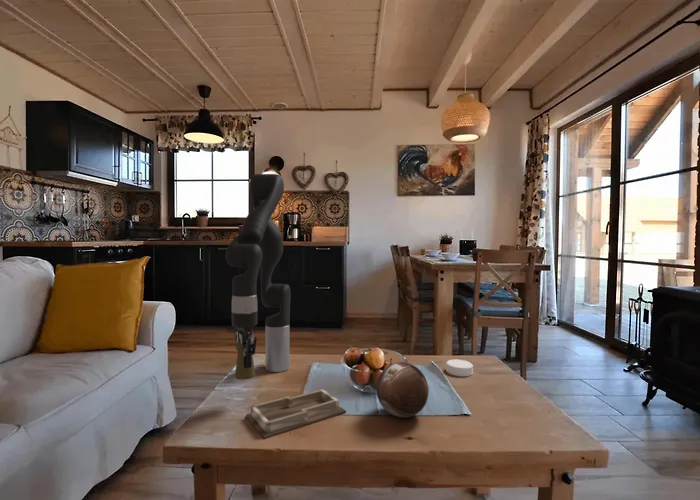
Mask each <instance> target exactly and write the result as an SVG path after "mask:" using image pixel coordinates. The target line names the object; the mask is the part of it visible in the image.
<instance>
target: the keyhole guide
mask: <svg viewBox="0 0 700 500" xmlns="http://www.w3.org/2000/svg"><path fill="white" fill-rule="evenodd" d="M346 413H347V410H346V409H345V408H343V407H342V406H340V400H339V399H338V398H336V397H335V396H334V395H332V394H330V393H329V392H328V391H326V390H325V389H323V388H322V389H318V390H315V391H310V392H306V393H303V394H299V395H296V396H292V397H291V396H290V395H287V396H285V397H281V398H276V399H273V400H269V401H266V402H262V403H258V404H254V405H251V406H250V413H246V418H247V419H248V420H249V422H250V423H251V424H252V426H253V427H254V428H255V429H256V430H257V431H258V433H259V434H260V436H262V438H263V439H264V440H265V439H268V438H271V437H275V436H277V435H280V434H284V433H287V432H290V431H293V430H296V429H300V428H302V427H305V426H308V425H311V424H316V423H318V422H321V421H324V420H327V419H330V418H333V417H336V416H340V415H343V414H346Z"/></svg>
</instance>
